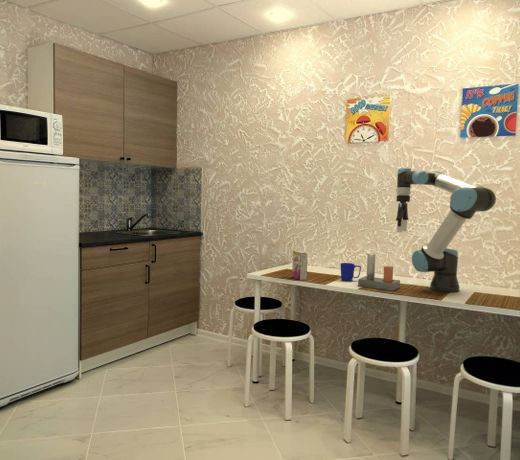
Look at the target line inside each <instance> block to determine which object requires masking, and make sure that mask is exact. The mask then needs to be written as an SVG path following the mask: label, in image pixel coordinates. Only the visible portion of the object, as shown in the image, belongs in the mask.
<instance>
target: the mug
mask: <svg viewBox="0 0 520 460" xmlns="http://www.w3.org/2000/svg"><path fill="white" fill-rule="evenodd" d="M355 268H359V271H358V275H357V276H354V275H355ZM361 268H362V266H361V265H355V263H351V262H341V263H340V279H341V280H342V281H345V282H351V281H353V279H359V277H360V275H361V271H362V269H361Z"/></svg>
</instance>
